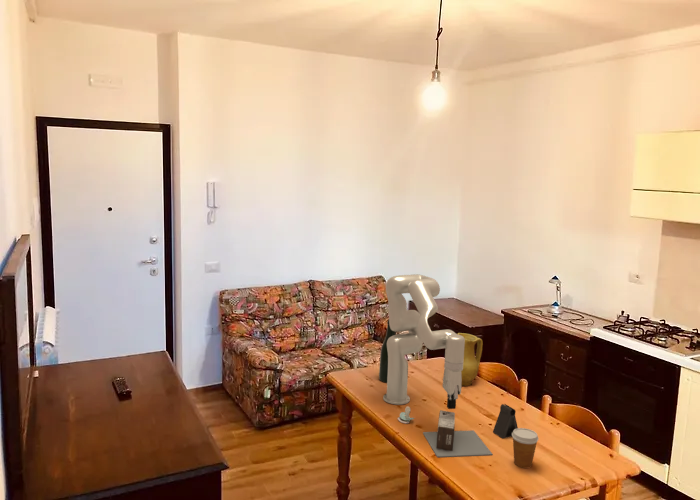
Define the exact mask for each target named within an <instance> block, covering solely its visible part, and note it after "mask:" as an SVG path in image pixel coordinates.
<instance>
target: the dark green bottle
mask: <svg viewBox="0 0 700 500" xmlns="http://www.w3.org/2000/svg"><path fill="white" fill-rule="evenodd" d="M386 323H387V324H386V325H387V326H386V333H385V338H384V340H383V342H382V344H381V348H380V355H379V356H380V357H379V369H378V379H379V381H381V382H384V383H386V384H387V377H388V351H387V340H388V339H389V338H390V337H391V336H393V335H397V333H396V332H395V331H392V330H391V328H390V325H389V318H388V320H387V322H386Z"/></svg>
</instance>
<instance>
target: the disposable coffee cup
mask: <svg viewBox="0 0 700 500" xmlns="http://www.w3.org/2000/svg"><path fill="white" fill-rule="evenodd" d="M511 438H512V444H513V445H512V446H513V463H514V464H515V465H516V466H517V467H519V468H526V469H529V468H531V467H532V465H533V460H534V457H535V452H536V447H537V443H538V441H539V436H538V433H537V432H536V431H535V430H532V429H529V428H525V427H524V428H523V427H518V428H517V429H515V430H514V431H513V433H512V437H511Z"/></svg>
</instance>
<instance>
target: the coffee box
mask: <svg viewBox="0 0 700 500" xmlns="http://www.w3.org/2000/svg"><path fill="white" fill-rule="evenodd" d="M455 416H456V413H455V412H453V411H448V410H441V409H440V410H439V415H438V423H437V431H436V432H437V446H436V448H438V449H443V450H449V451H453V442H454V431H456V430H455V428H456V427H455V425H456V423H455V422H456V419H455V418H456V417H455Z"/></svg>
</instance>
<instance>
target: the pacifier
mask: <svg viewBox="0 0 700 500" xmlns="http://www.w3.org/2000/svg"><path fill="white" fill-rule="evenodd" d="M410 413H411V407H410V406H406V407H405V409H404V411H402V412H400V413H399V417H397V420H398V422H400V423H402V424H409V423H410V421H413V420H414V419H415V417H410Z"/></svg>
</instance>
